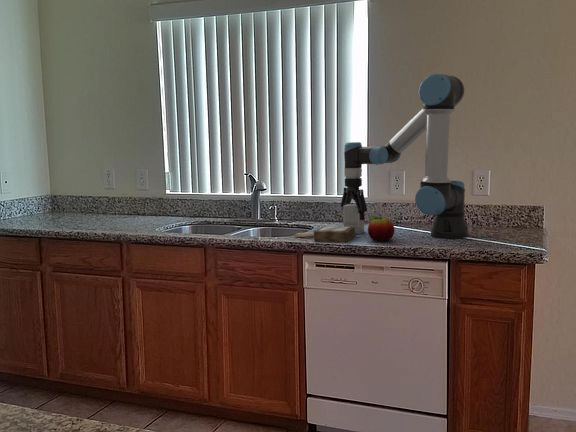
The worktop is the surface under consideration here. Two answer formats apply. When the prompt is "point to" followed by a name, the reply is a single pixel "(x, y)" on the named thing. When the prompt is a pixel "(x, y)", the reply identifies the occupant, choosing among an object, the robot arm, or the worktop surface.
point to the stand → (334, 234)
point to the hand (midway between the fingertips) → (353, 225)
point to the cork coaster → (305, 234)
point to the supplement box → (352, 217)
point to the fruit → (380, 229)
